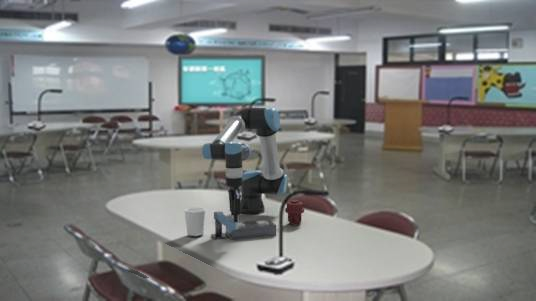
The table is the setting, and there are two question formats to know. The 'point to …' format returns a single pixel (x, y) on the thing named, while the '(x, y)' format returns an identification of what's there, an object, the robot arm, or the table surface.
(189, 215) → the cup
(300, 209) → the mechanical component
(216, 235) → the pivot post
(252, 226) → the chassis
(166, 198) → the table surface
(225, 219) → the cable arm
